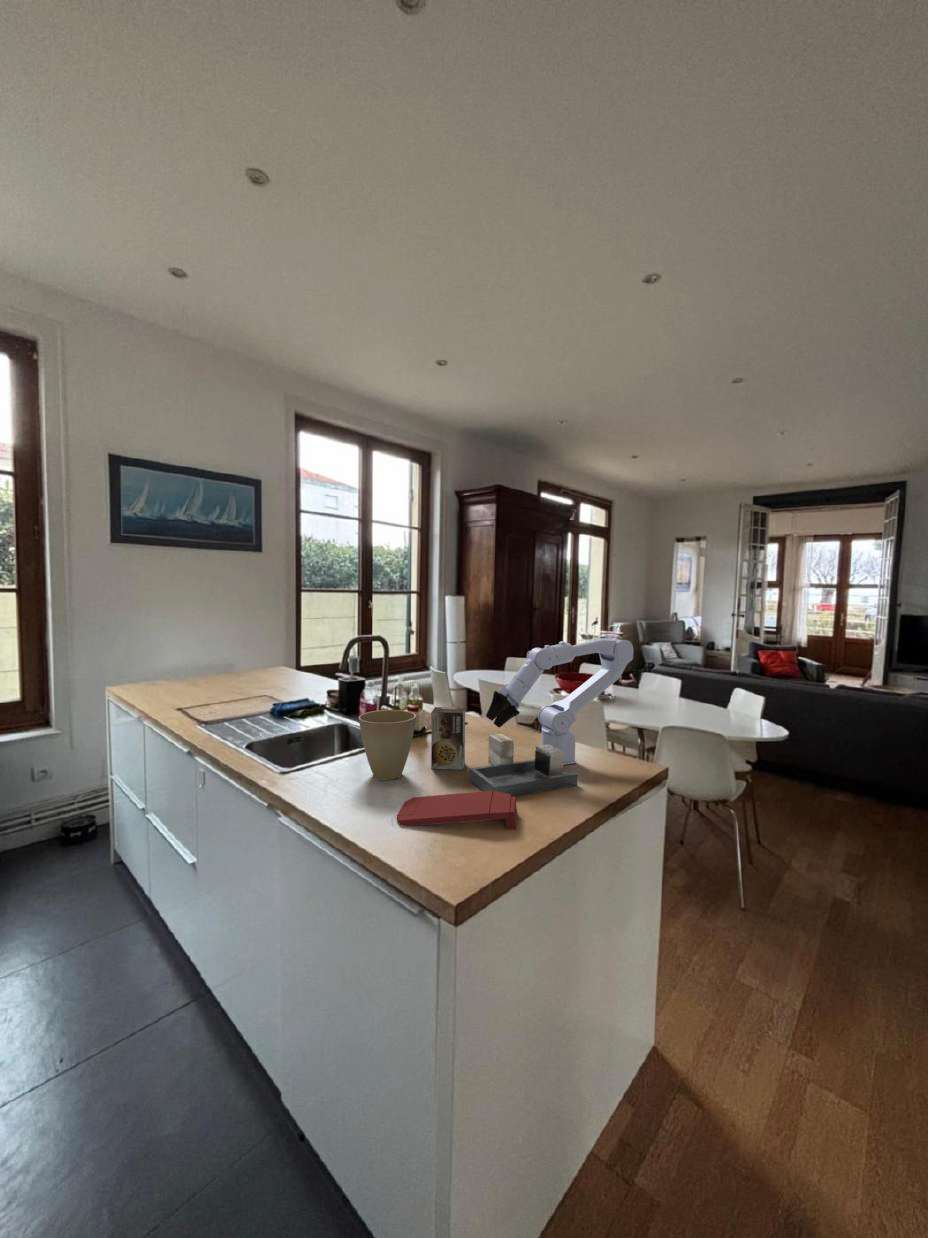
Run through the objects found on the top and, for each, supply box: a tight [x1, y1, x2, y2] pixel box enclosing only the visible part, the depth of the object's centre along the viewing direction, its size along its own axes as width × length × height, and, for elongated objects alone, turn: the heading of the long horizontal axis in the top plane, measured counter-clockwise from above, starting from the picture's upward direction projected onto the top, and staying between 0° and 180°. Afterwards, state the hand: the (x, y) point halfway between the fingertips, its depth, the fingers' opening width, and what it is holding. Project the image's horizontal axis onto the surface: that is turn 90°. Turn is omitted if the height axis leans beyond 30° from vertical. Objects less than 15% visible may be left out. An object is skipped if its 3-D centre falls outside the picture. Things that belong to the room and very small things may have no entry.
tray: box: [468, 744, 579, 797], centre depth 130 cm, size 24×14×8 cm, turn 114°
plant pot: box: [358, 709, 417, 781], centre depth 133 cm, size 15×15×16 cm
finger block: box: [487, 733, 515, 765], centre depth 143 cm, size 5×7×8 cm, turn 24°
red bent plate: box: [396, 790, 518, 831], centre depth 109 cm, size 12×5×25 cm
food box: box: [430, 706, 466, 771], centre depth 141 cm, size 9×6×16 cm
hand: (492, 722), depth 140 cm, fingers open, 7 cm apart
